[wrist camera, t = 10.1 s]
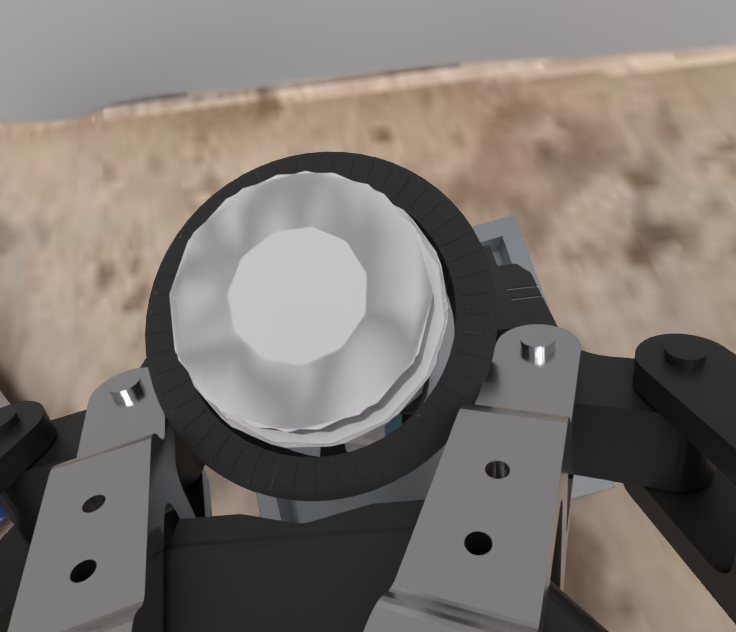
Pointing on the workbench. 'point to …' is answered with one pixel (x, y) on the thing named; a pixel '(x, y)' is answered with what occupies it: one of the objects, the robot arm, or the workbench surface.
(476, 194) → the workbench surface
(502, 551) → the robot arm
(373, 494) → the tray
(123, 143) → the workbench surface
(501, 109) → the workbench surface
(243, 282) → the push button
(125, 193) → the workbench surface
